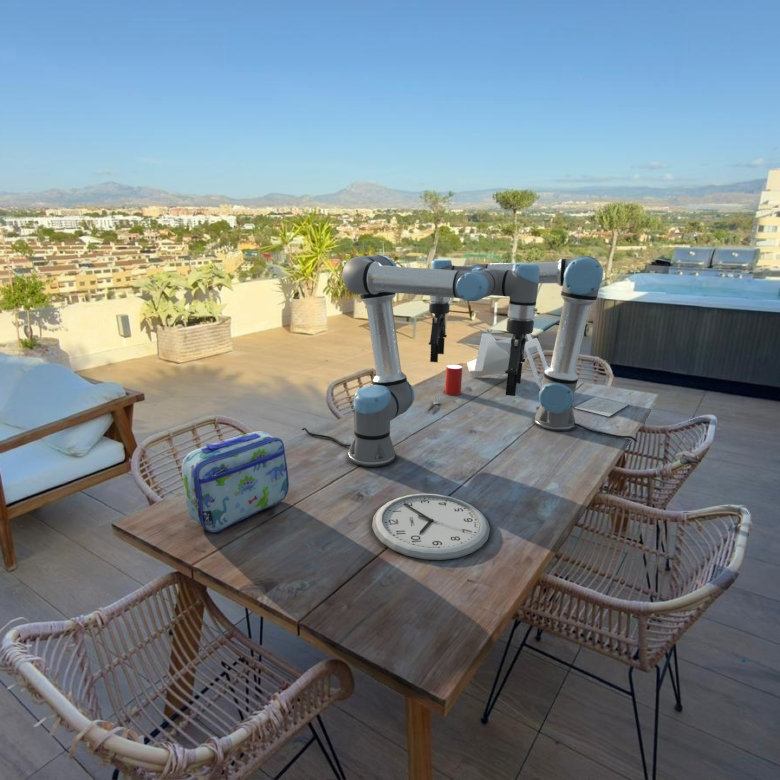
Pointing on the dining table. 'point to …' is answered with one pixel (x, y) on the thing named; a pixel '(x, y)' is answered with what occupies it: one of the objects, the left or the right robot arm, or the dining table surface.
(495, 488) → the dining table surface
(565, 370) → the right robot arm
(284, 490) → the lunch box
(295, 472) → the dining table surface
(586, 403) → the invitation card
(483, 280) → the left robot arm
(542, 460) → the dining table surface
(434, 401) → the fork
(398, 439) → the dining table surface
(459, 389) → the can
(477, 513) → the wall clock
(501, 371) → the white plastic object
